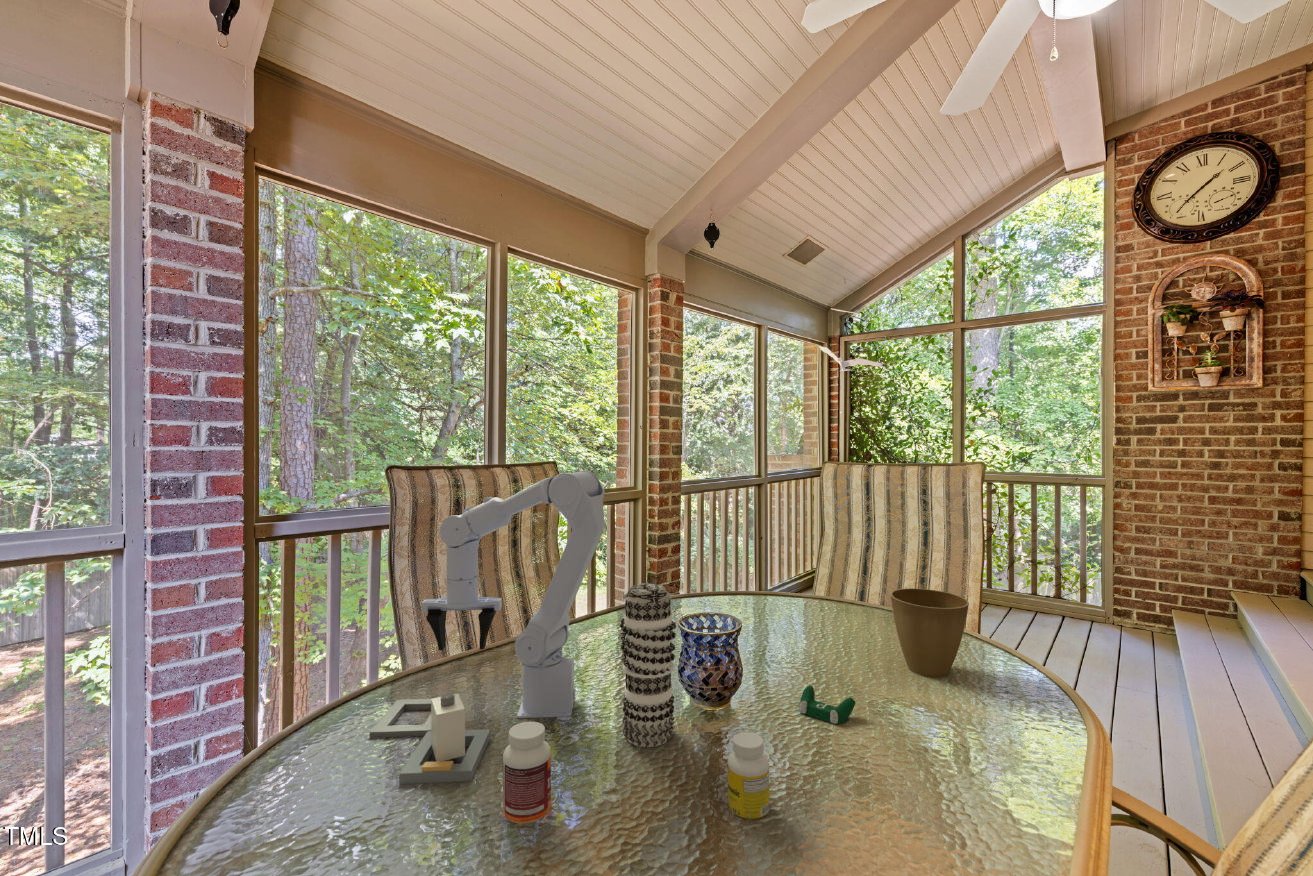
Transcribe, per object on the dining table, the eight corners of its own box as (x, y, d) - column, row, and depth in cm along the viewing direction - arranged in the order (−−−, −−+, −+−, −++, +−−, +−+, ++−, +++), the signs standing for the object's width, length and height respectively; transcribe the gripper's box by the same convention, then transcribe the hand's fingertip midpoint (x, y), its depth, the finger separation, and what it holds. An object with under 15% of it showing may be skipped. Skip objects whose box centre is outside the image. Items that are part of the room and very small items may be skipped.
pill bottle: (558, 818, 75) (558, 733, 75) (512, 836, 72) (512, 747, 72) (540, 794, 80) (540, 714, 80) (496, 809, 77) (496, 726, 77)
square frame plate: (452, 704, 108) (452, 698, 108) (431, 737, 96) (431, 730, 96) (397, 706, 107) (397, 699, 107) (369, 739, 95) (369, 732, 95)
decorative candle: (657, 760, 89) (657, 597, 89) (609, 744, 94) (608, 589, 94) (686, 734, 96) (686, 584, 97) (640, 720, 101) (639, 577, 101)
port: (490, 741, 94) (490, 725, 94) (471, 785, 82) (471, 766, 82) (427, 743, 94) (427, 727, 94) (399, 787, 82) (399, 769, 82)
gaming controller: (808, 703, 108) (792, 715, 103) (807, 683, 108) (792, 694, 103) (856, 719, 102) (843, 732, 97) (856, 697, 102) (843, 709, 97)
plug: (458, 737, 92) (457, 687, 92) (464, 755, 87) (464, 701, 87) (431, 743, 90) (431, 692, 90) (436, 762, 85) (436, 707, 85)
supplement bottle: (724, 802, 78) (723, 730, 78) (763, 800, 79) (763, 728, 79) (732, 829, 73) (732, 751, 73) (774, 826, 73) (774, 749, 73)
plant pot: (891, 681, 118) (890, 602, 118) (891, 656, 131) (890, 585, 131) (974, 693, 112) (973, 610, 112) (965, 665, 126) (964, 591, 126)
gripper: (504, 571, 115) (505, 640, 115) (430, 572, 115) (430, 641, 114) (497, 580, 108) (497, 652, 108) (418, 581, 108) (418, 654, 107)
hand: (462, 648), depth 111 cm, fingers open, 7 cm apart
